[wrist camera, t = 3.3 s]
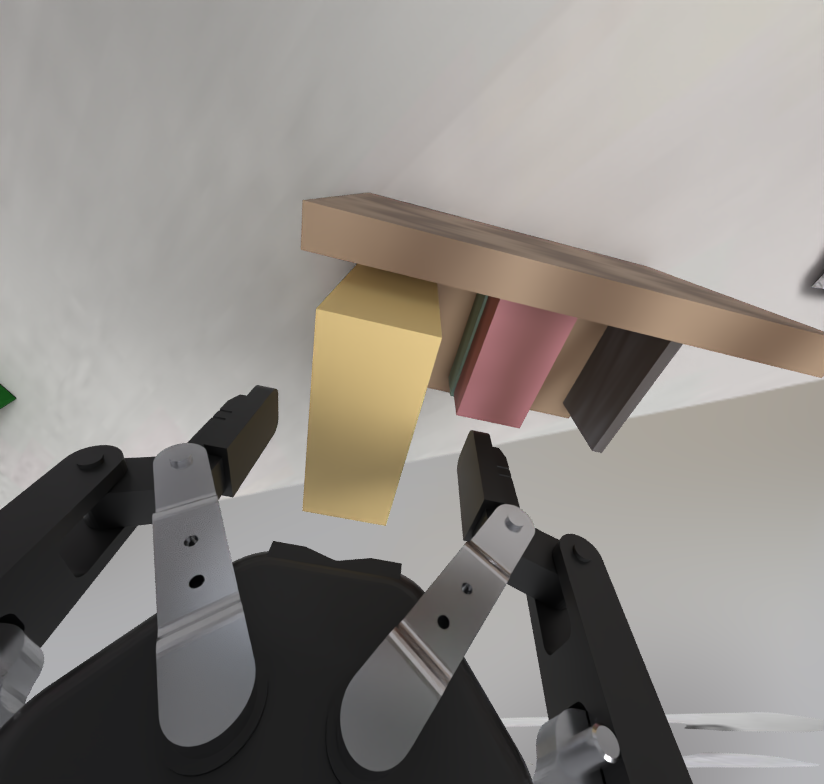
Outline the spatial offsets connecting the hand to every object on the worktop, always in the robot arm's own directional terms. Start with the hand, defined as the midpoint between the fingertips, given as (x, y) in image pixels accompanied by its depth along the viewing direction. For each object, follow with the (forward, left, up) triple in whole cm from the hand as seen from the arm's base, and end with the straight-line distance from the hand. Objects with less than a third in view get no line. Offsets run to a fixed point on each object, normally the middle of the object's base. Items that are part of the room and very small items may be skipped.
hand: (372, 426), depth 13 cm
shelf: (+7, 0, -17) cm, 18 cm away
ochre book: (0, 0, -15) cm, 15 cm away
